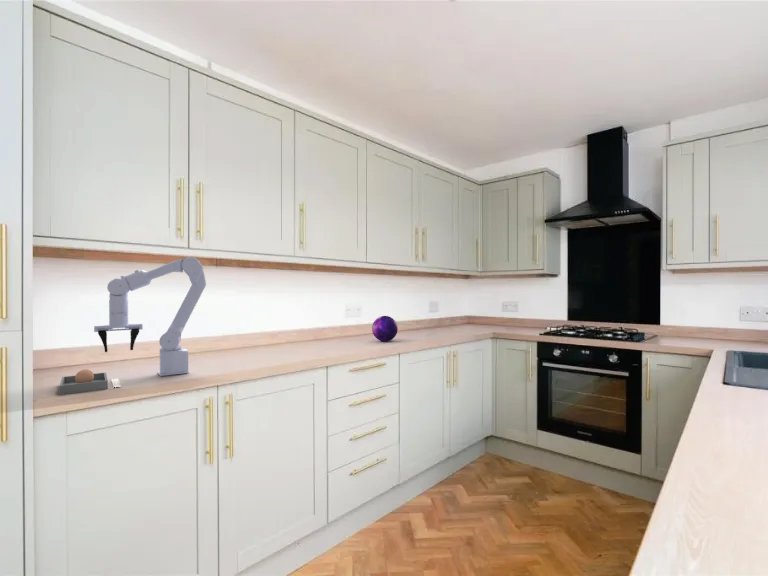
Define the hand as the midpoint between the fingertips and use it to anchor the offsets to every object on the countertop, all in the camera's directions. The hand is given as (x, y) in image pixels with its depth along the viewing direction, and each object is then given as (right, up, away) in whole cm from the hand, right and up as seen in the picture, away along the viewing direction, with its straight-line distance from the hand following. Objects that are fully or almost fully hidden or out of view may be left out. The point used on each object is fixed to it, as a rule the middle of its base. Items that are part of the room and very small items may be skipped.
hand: (119, 350), depth 149 cm
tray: (-2, -9, -14) cm, 17 cm away
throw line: (+5, -9, -10) cm, 15 cm away
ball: (-2, -6, -15) cm, 16 cm away
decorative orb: (+95, -9, +96) cm, 135 cm away
